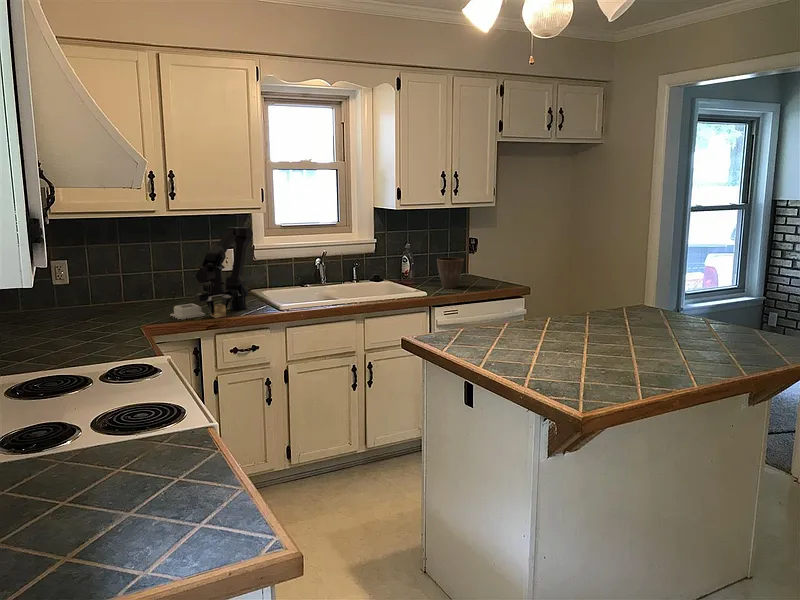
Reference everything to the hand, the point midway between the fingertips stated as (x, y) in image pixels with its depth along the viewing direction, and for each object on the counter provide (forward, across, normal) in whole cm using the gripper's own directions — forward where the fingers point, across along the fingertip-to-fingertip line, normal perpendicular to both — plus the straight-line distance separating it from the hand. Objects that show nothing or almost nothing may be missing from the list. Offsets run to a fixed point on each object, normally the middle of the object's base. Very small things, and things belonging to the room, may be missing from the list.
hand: (218, 313), depth 288 cm
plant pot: (+1, -128, +20) cm, 130 cm away
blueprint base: (+1, +10, -10) cm, 14 cm away
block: (+1, 0, 0) cm, 1 cm away
